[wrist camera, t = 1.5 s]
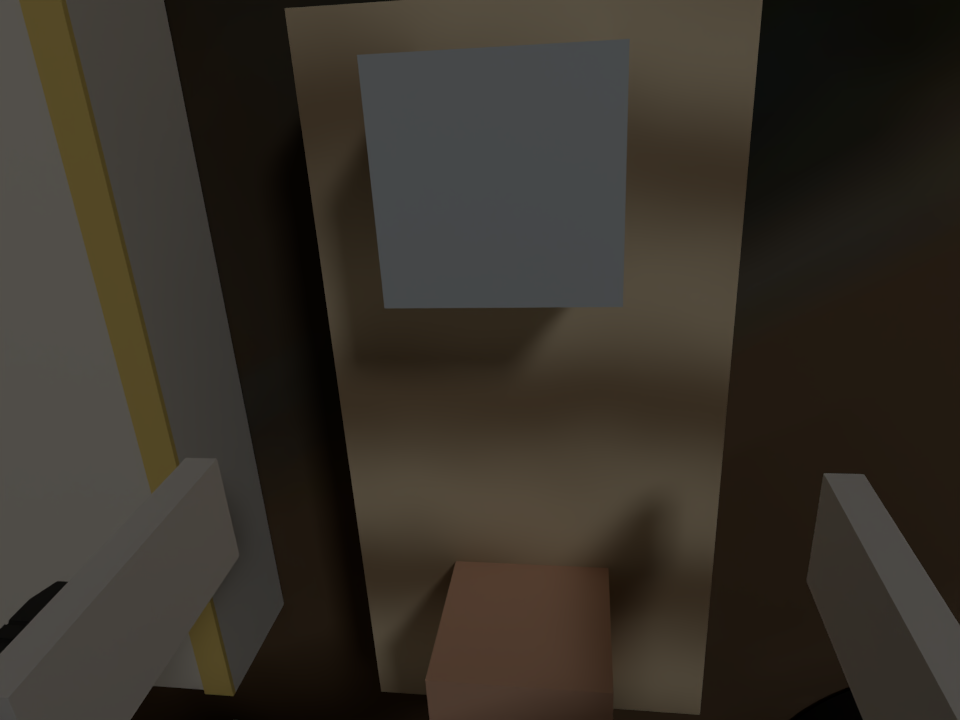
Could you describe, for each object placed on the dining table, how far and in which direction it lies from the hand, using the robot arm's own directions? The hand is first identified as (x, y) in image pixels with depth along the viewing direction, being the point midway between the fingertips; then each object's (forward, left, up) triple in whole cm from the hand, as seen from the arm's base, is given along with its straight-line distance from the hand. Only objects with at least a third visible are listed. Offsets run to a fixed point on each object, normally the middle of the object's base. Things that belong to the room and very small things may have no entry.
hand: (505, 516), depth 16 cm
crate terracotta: (-8, 0, -5) cm, 9 cm away
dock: (0, +20, -12) cm, 23 cm away
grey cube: (+7, 0, -5) cm, 9 cm away
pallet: (0, 0, -12) cm, 12 cm away
